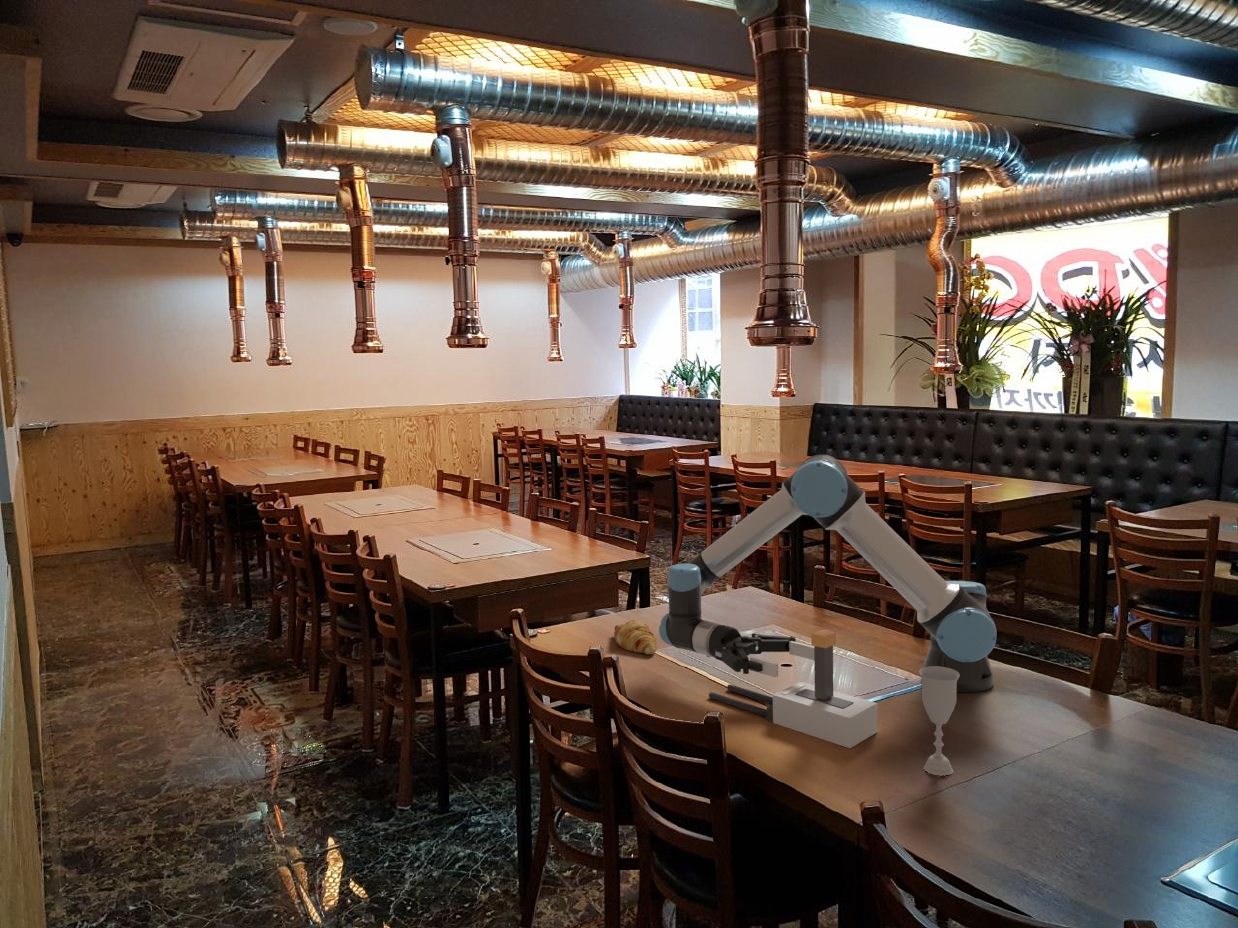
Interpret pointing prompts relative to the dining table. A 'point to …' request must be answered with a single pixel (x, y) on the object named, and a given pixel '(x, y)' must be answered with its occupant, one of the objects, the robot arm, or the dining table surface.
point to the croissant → (635, 637)
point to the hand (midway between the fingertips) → (797, 662)
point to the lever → (823, 662)
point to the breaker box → (825, 715)
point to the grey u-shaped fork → (745, 706)
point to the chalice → (939, 710)
